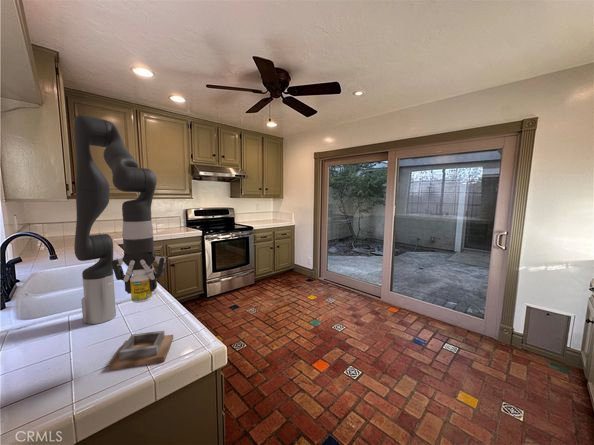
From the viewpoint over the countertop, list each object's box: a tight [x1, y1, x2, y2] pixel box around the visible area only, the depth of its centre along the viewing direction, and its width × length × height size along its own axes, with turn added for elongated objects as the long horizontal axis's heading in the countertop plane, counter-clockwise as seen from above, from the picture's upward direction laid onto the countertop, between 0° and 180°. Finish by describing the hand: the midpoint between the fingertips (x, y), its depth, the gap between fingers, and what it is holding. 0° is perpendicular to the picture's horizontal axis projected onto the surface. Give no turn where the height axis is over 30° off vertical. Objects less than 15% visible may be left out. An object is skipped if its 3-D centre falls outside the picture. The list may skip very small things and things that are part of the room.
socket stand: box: [107, 330, 174, 371], centre depth 75 cm, size 14×12×4 cm
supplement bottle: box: [130, 269, 153, 304], centre depth 73 cm, size 5×5×10 cm
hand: (141, 291), depth 73 cm, fingers closed on supplement bottle, 5 cm apart
